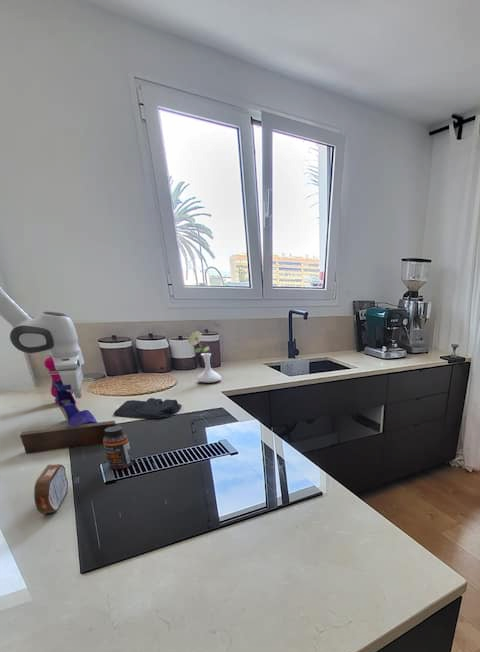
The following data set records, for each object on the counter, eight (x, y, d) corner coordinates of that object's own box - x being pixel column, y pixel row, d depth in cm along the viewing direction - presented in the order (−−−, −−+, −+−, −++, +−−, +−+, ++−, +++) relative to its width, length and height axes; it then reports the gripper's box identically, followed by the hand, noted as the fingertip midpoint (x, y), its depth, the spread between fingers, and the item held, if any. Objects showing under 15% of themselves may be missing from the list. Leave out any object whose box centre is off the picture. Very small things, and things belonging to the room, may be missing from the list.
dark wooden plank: (26, 453, 117) (19, 435, 114) (28, 450, 119) (21, 431, 117) (118, 440, 127) (114, 423, 125) (119, 437, 130) (114, 420, 127)
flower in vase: (215, 377, 204) (209, 328, 194) (225, 382, 197) (219, 330, 187) (190, 381, 196) (182, 330, 186) (199, 386, 189) (192, 332, 178)
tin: (58, 489, 99) (48, 459, 96) (73, 486, 100) (64, 457, 97) (39, 521, 86) (27, 488, 83) (56, 518, 87) (45, 485, 84)
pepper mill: (51, 402, 160) (36, 353, 152) (71, 398, 166) (57, 351, 158) (58, 406, 157) (43, 355, 148) (78, 402, 162) (65, 353, 154)
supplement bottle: (105, 470, 108) (95, 433, 104) (114, 461, 114) (105, 425, 109) (129, 469, 109) (120, 432, 105) (136, 460, 115) (128, 424, 110)
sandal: (75, 435, 130) (63, 391, 124) (59, 420, 142) (47, 379, 136) (103, 429, 136) (92, 387, 130) (85, 415, 148) (75, 376, 142)
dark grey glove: (135, 404, 162) (133, 392, 160) (186, 407, 160) (184, 396, 158) (109, 416, 148) (106, 404, 146) (164, 419, 146) (162, 407, 144)
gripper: (61, 355, 146) (72, 391, 152) (53, 366, 130) (65, 406, 136) (81, 354, 149) (91, 389, 155) (76, 364, 133) (87, 403, 138)
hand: (79, 397), depth 145 cm, fingers closed
